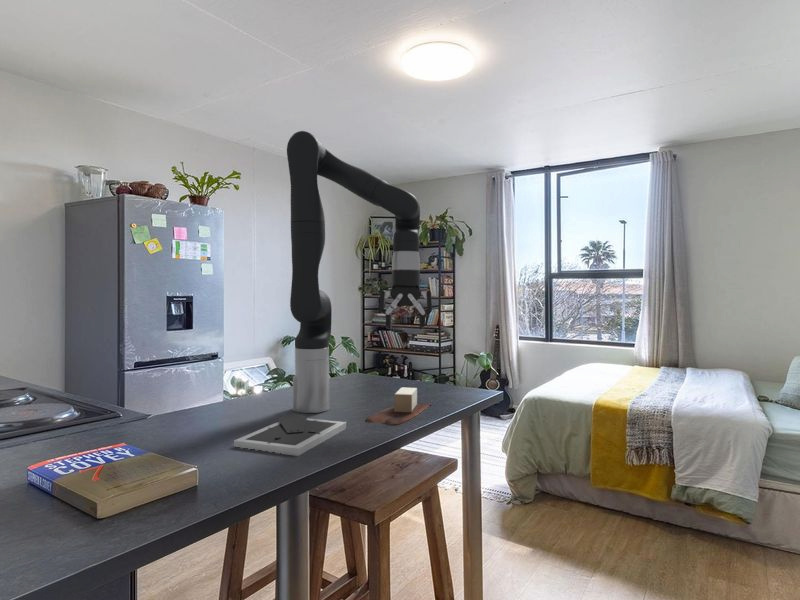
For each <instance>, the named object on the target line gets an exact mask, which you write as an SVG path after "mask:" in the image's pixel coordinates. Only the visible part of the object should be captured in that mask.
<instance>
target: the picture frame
mask: <svg viewBox="0 0 800 600" xmlns="http://www.w3.org/2000/svg"><path fill="white" fill-rule="evenodd" d="M277 420H278V421H277V422H274V423H271V424H270V425H267V426H265V427H262V428H261V429H258V430H255V431H254V432H251V433H249V434H245V435H244V436H241V437H239V438H237V439H234V440H233V447H234V446H236V447H241V448H240V449H243V448H248V449H247V450H250V449H255V450H254V451H258V450H262V451H261V452H265V451H268V452H267V453H272V452H275V453H274V454H280V453H281V455H289V456H296V457H299V456H302V454H304V453H306V452H308V451H310V450H311V449H313V448H315V447H316V446H318V445H320V444H321V443H324V442H326V441H327V440H328V439H330V438H332V437H334V436H335V435H337V434H339V433H341V432H342V431H344V430H346V429H347V421H338V420H337V421H336V420H327V419H318V418H317V419H315V418H308V416H307V415H301V414H293V413H289V414H288V413H287V415H284V416H282V417H279V418H277Z"/></svg>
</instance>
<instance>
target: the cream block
mask: <svg viewBox="0 0 800 600" xmlns="http://www.w3.org/2000/svg"><path fill="white" fill-rule="evenodd" d="M393 397H394V398H393V399H394V403H393V404H394V405H393V407H394V412H412V411H413V409H414V408H415V406H416V405H417V402H418V388H417V387H403V386H402V387H400V388H399V389H398V390H397V391H396V392H395V393H394V396H393Z"/></svg>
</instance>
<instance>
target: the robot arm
mask: <svg viewBox="0 0 800 600" xmlns="http://www.w3.org/2000/svg"><path fill="white" fill-rule="evenodd" d="M286 157H287V162H288V171H289V180H290V241H291V267H292V269H291V271H292V272H291V273H292V274H291V288H290V300H289V303H290V304H289V306H290V311H291V315H292V317H293V318H294V319H295V320H296V321H297V322H299V323H300V324H299V331H298V333H297V334H296V337H295V339H294V372H295V373H294V375H293V376H292V411H293V412H298V413H302V414H313V413H314V414H315V413H323V412H326V411H328V410H329V409H330V350H329V349H330V348H329V347H330V338H331V335H332V319H333V318H332V311H333V310H332V302H331V298H330V297H329V295H328V294H327V293H326V292H324V291H323V290H320V284H319V282H320V281H319V270H320V264H321V259H322V257H323V252H324V249H325V245H326V220H325V211H324V208H323V203H322V198H321V195H320V192H319V191H320V190H319V186H318V176H319V177H323V178H325V179H327V180H329V181H332V182H333V183H335V184H337V185H339V186H341V187H343V188H344V189H345V190H348V191H349V192H351V193H353V194H354V195H355V196H357V197H360V198H361V199H363V200H364V201H367V202H368V203H370V204H372V205H374V206H376V207H381V208H382V209H384V210H385V211H387V212H389V213H391V214H392V215H394V216H395V217H394V219H395V223H394V227H395V229H394V230H395V231H394V233H393V239H392V241H393V243H392V247H393V248H392V249H393V250H392V251H393V253H392V261H391V290H384V289H381V290H380V292H379V306H378V312H380V313H381V314H384V315H385V326H386V327H387V329H392V326H393V325H392V321H393V320H392V319H393V317H392V315H393V314H392V313H393V311H394V309H396V307H397V306H399V307H405V306H406V307H412V306H414V307H415V308H416V309H417V311H418V312H419V314H420V315H419V330H423V329H424V328H425V326H426V315H427V314H431V313H432V312H433V301H432V299H433V298H432V291H431V290H425V291H422V290H421V282H420V281H421V280H420V279H421V258H420V235H419V232H420V231H419V230H420V223H421V222H420V220H421V218H420V217H421V206H420V203H419V201H418V199H417V197H416V196H415V195H413V194H412V193H411V192H410V191H407V190H405V189H402V188H400V187H398V186H397V185H396V186H395V185H393V184H390V182H389V183H388V182H387V181H386V180H384V179H382V178H380V177H379V176H376V175H375V174H373V173H371V172H369V171H368V170H365V169H362V168H360V167H358V166H354V165H352V164H349V163H348V162H345V161H344V160H342V159H340V158H339V157H337V156H335V154H333V153H331V152H330V151H329V150H328V149H326V147H324V144H323V143H321V141H320V140H319V139H318V138H317V137H316V136H315V135H314V134H313V133H311V132H308V131H305V130H300V131H297V132H294V133H293V134H292V136H290V138H289V140H288V142H287V146H286ZM389 296H391V298H392V300H393V301H392V303H391V304H390V306H389V307H388V308H386V306H385V305H386V299H388V298H389ZM421 296H423V298H424V299H426V309H424V307H422V304H421V303H420V302H419V300H420V298H421Z"/></svg>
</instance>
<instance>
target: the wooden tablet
mask: <svg viewBox="0 0 800 600" xmlns="http://www.w3.org/2000/svg"><path fill="white" fill-rule="evenodd" d="M431 403H432V402H431ZM431 403H417V405H416V406H415V408H414V409H413V411H412V412H394V406H391V407H389V408H386V409H382V410H381V411H379V412H376V413H374V414H371V415H370V416H368V417H366V419H365V420H364V421H365V422H366V423H380V424H383V425H387V426H399V425H401V424H403V423H405V422H407V421H410V420H411V419H412V418H415V417H416V416H418V415H419V413H420V414H421V413H423V412H424V411H423V410H424V409H426V408H427V407H428V406H429V405H431ZM426 410H427V409H426ZM422 411H423V412H422Z"/></svg>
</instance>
